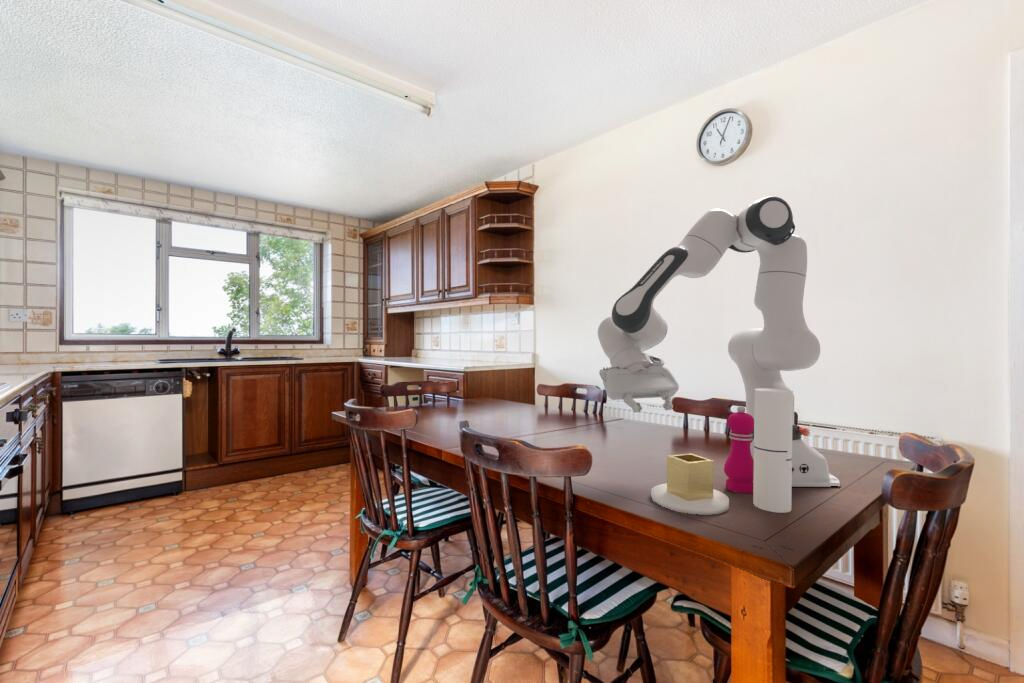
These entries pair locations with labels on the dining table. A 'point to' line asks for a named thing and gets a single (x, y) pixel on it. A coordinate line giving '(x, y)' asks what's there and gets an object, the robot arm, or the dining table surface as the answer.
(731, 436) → the pepper mill
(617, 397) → the robot arm
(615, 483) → the dining table surface
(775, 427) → the cylindrical container
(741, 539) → the dining table surface
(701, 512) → the plate
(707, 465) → the yellow square cup
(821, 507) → the dining table surface
